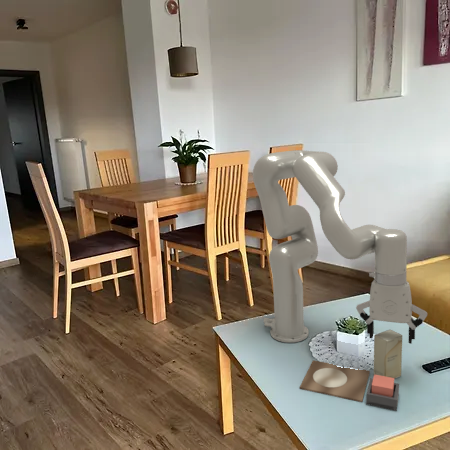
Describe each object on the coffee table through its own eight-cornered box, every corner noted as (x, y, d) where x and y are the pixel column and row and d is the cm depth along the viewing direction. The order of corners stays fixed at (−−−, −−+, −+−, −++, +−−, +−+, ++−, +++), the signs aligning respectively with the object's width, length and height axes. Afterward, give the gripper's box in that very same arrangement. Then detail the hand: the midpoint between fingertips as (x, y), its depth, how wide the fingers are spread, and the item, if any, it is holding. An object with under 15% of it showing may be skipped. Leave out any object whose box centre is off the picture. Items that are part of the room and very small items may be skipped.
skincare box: (385, 383, 113) (386, 341, 110) (372, 375, 117) (373, 334, 114) (402, 375, 116) (403, 335, 113) (388, 368, 120) (390, 328, 117)
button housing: (366, 404, 105) (366, 393, 105) (370, 388, 111) (370, 378, 111) (396, 411, 102) (397, 400, 101) (398, 394, 108) (399, 383, 108)
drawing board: (299, 388, 113) (299, 386, 113) (312, 361, 125) (312, 359, 125) (362, 402, 106) (362, 400, 106) (369, 372, 118) (369, 370, 118)
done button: (371, 393, 105) (371, 384, 105) (374, 383, 109) (374, 374, 109) (392, 398, 103) (392, 389, 102) (394, 387, 107) (394, 378, 107)
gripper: (353, 279, 110) (354, 340, 114) (427, 285, 103) (426, 350, 106) (358, 270, 117) (359, 328, 120) (428, 275, 109) (426, 336, 113)
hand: (390, 338), depth 113 cm, fingers open, 9 cm apart
